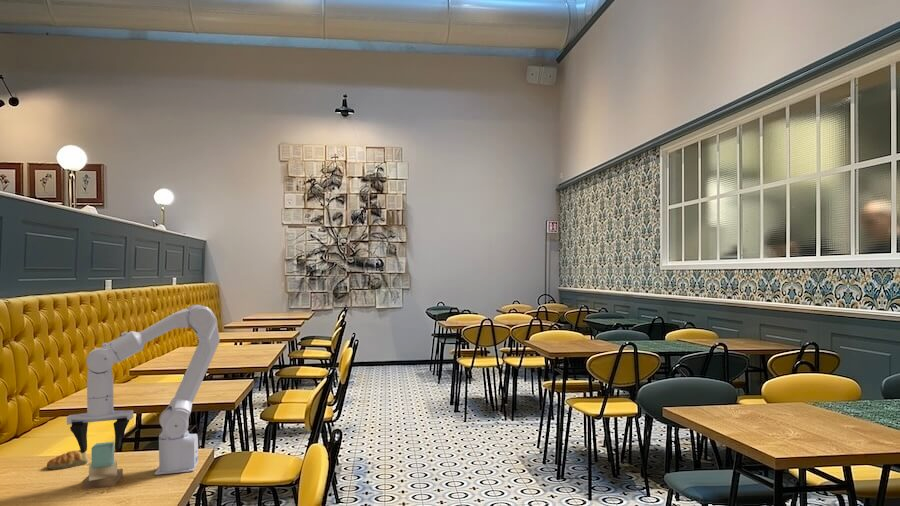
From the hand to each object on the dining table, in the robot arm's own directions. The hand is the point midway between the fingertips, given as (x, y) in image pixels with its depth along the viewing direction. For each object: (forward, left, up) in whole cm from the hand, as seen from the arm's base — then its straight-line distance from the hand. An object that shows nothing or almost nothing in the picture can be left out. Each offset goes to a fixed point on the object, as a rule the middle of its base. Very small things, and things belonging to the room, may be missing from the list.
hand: (101, 450), depth 146 cm
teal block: (0, 0, -4) cm, 4 cm away
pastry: (+13, -18, -9) cm, 24 cm away
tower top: (0, 0, -6) cm, 6 cm away
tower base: (0, 0, -9) cm, 9 cm away
